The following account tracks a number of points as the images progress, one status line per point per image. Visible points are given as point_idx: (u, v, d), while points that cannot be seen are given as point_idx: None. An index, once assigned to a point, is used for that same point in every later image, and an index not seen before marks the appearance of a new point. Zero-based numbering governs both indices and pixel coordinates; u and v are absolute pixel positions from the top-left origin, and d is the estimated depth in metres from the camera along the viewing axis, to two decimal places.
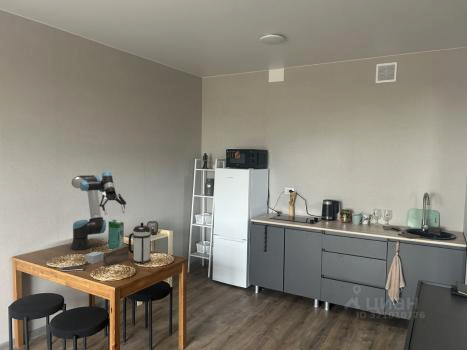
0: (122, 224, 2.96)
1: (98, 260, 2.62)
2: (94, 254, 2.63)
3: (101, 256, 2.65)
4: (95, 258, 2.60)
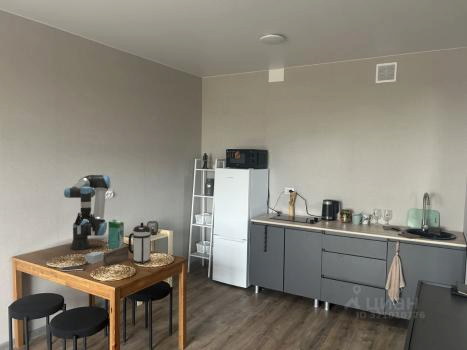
0: (122, 224, 2.96)
1: (98, 260, 2.62)
2: (94, 254, 2.63)
3: (101, 256, 2.65)
4: (95, 258, 2.60)
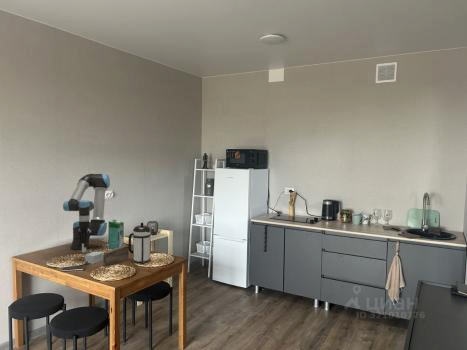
0: (122, 224, 2.96)
1: (98, 260, 2.62)
2: (94, 254, 2.63)
3: (101, 256, 2.65)
4: (95, 258, 2.60)
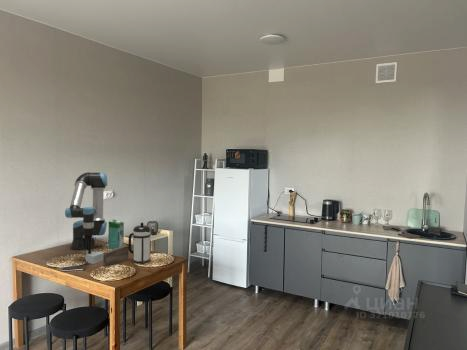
0: (122, 224, 2.96)
1: (99, 260, 2.62)
2: (94, 254, 2.62)
3: (102, 256, 2.65)
4: (96, 258, 2.59)
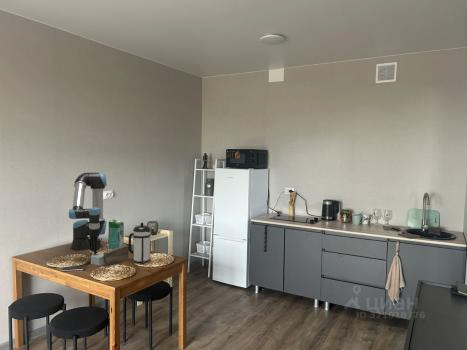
0: (122, 224, 2.96)
1: None
2: (100, 255, 2.59)
3: None
4: (101, 259, 2.56)
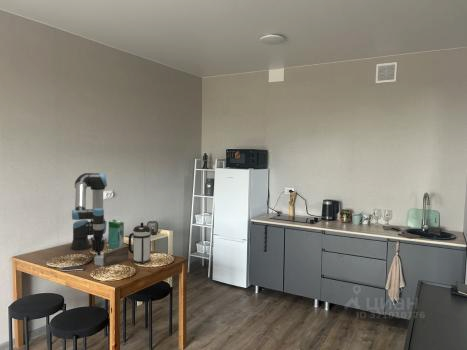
0: (122, 224, 2.96)
1: None
2: None
3: None
4: None
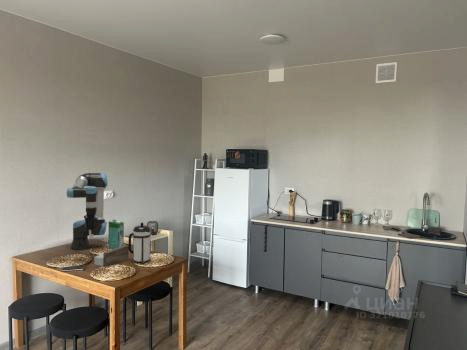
0: (122, 224, 2.96)
1: None
2: None
3: None
4: None
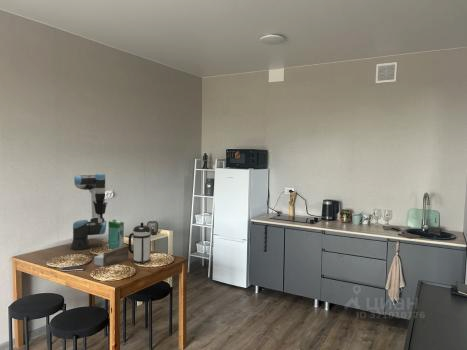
0: (122, 224, 2.96)
1: None
2: None
3: None
4: None
